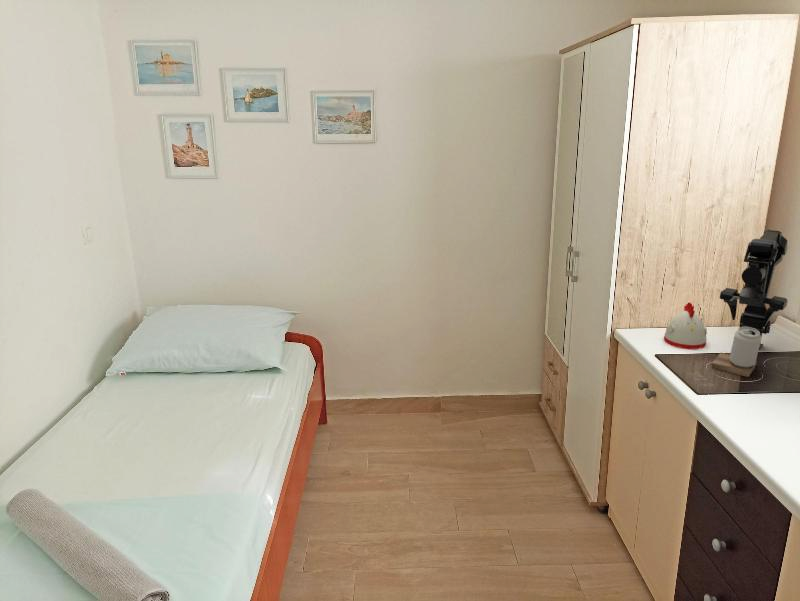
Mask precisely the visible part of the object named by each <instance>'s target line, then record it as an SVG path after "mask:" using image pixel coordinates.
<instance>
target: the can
mask: <svg viewBox="0 0 800 601" xmlns="http://www.w3.org/2000/svg"><path fill="white" fill-rule="evenodd" d="M760 342H762V338H761V335H760V332H759V331H758V330H757V329H755V328H752V327H740V328H738V329H737V330H736V331H735V333H734V336H733V341H732V345H731V349H730V358H729V359H730V361H731V362H732V363H733V364H734V365H736V366H739V367H744V368H747V367H751V366H753V365H754V364H755V362H756V361H757V358H758V353H759V350H760V349H759V346H760Z"/></svg>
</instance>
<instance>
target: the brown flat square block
mask: <svg viewBox="0 0 800 601" xmlns="http://www.w3.org/2000/svg"><path fill="white" fill-rule="evenodd" d="M729 358H730V354H729V353H723V352H720V353H718V355H717V356H716V357H715V359H714V360H713V361H712V362H711V366H710V367H711V369H713V368H715V369H714V370H717V369H718V371H721V370H722V372H725V371H726V372H727V373H730V374H734V373H735V375H739V376H742V377H748V378H749V377H750V375H751V374H752V373H753V371H754V370H755V368H756V367H755V366H757V363H758V360H756V362H755V364H754V365H753V366H751V367H747V368H744V367H739V366H736V365H734V364H733V363H732V362H731V361H730V359H729Z"/></svg>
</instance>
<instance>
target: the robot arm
mask: <svg viewBox="0 0 800 601" xmlns="http://www.w3.org/2000/svg"><path fill="white" fill-rule="evenodd" d="M782 232H783V231H780V230H776V229H766V230H764V232H763V235H761V236H760V237H759V238H754V239H752V240H751V241H750V242H748V243H747V247H746V252H745V256H744V258H743V263H744V262H745V263H748V265H747V267H746V268H744V270H742V273H741V280H742V282H743V283H744V285H743V288H742V289H741V291H740V292H738V291H739V290H738V289H736V288H730V287H729V288H728V287H726V288H724V289H722V291H720V294H719V299H720V300H723V302H724V303H726V305H728V307H729V310H730V314H731V318H732V321H735V320H736V315H737V308H738V303H739V304H741V305H746V306H745V308H744V310H743V312H741V315H740V318H739V328H740V327H752V328H755V329H757V330H758V331H759V332H760V335H761V339H762V337H763V334H764V335H766V334H770V331H771V321H770V319H771V317H772V316H773V314H774V313H775V312H779V311H783V310H784V309H785V308H786V307H787V306H788V302H789V301H788V299H787V298H786V297H781V296H776V295H773V297H771V298H769V297H768V296H769V293H770V289H771V286H772V285H771V283H772V281H773V277H774V273H775V269H776V267H777V265H779V264H780V263H781V262H782V261H783V258H784V256H786V255H787V252H788V239H786V237H785V236H784V235H783V233H782ZM766 305H768V308H767V307H766ZM739 328H738V329H739ZM761 342H762V341H761ZM761 342H760V346H759V350H761V348H762V347H763V346H764V344H763V343H761Z"/></svg>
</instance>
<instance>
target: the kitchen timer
mask: <svg viewBox="0 0 800 601" xmlns="http://www.w3.org/2000/svg"><path fill="white" fill-rule="evenodd" d="M683 309H684V310H683V311H682V312H680V313H677V314H676V315H675V316H674V317H673V318H672V319H671V320H670V321H668V322H667V325H666V330H665V332H664V336H663V337H664V338H663V340H664V342H665V343H666V344H668V345H670V346H672V347H675V348H679V349H685V350H700V349H703V348H705V347H706V344H707V334H708V332H707V330H708V329H707V326H706V325H704V322H703V321H702V319H701V318H700V317H699V316H698V314H696V313H695V312H696V311H695V310H694V309H695V306H694V305H693V303H691V302H687V303H686V304H685V305H684V308H683ZM699 348H700V349H699Z"/></svg>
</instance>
